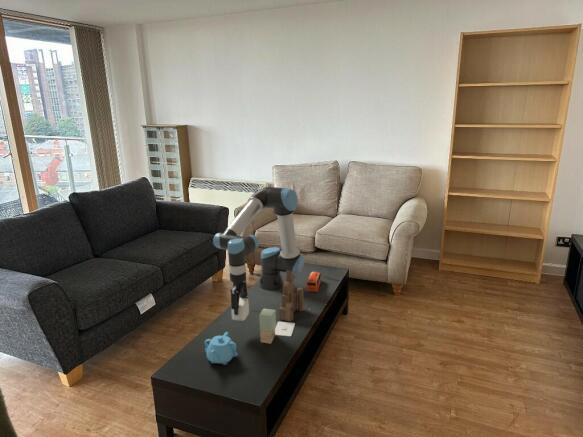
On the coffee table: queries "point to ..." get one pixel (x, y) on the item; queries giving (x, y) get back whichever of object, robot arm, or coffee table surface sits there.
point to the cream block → (242, 308)
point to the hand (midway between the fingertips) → (240, 315)
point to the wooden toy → (290, 298)
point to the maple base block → (267, 336)
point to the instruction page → (284, 328)
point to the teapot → (220, 349)
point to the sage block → (267, 319)
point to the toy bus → (313, 282)
